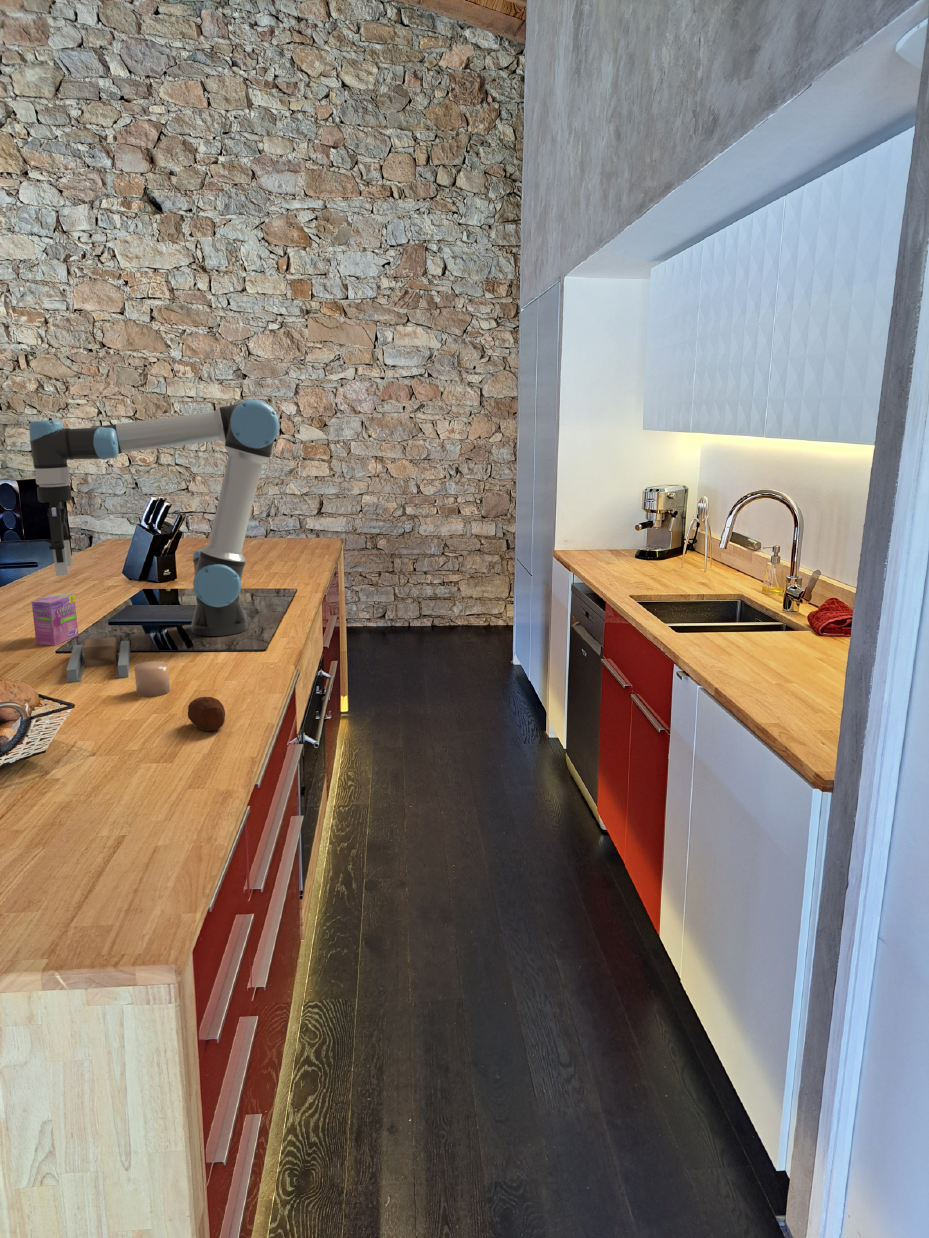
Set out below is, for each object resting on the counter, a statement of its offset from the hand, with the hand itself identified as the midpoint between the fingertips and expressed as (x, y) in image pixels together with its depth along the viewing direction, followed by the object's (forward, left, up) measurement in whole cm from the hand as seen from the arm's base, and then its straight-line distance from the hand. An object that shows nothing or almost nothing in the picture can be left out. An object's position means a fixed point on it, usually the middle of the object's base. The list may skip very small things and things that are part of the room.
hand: (64, 570), depth 218 cm
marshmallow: (-19, +40, -21) cm, 49 cm away
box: (+5, -13, -22) cm, 26 cm away
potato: (-29, +66, -22) cm, 75 cm away
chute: (-7, +16, -21) cm, 27 cm away
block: (-7, +11, -22) cm, 25 cm away
